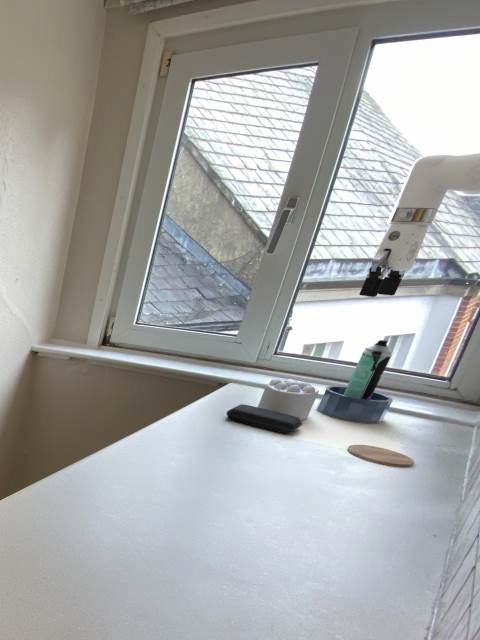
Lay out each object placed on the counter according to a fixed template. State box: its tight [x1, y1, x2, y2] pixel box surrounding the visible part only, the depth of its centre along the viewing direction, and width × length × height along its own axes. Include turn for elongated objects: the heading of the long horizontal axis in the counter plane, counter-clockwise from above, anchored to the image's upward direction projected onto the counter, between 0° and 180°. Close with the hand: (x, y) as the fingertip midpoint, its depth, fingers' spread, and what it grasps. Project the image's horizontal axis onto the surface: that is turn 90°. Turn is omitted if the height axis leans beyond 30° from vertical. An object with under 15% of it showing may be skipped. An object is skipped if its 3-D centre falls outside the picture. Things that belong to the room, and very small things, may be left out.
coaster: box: [347, 444, 415, 468], centre depth 121 cm, size 11×11×1 cm
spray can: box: [343, 339, 393, 400], centre depth 144 cm, size 6×6×20 cm
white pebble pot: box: [257, 378, 320, 421], centre depth 144 cm, size 10×13×9 cm
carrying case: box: [226, 404, 303, 434], centre depth 138 cm, size 11×3×15 cm
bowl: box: [316, 385, 394, 425], centre depth 147 cm, size 14×14×6 cm
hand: (376, 295), depth 133 cm, fingers open, 9 cm apart
